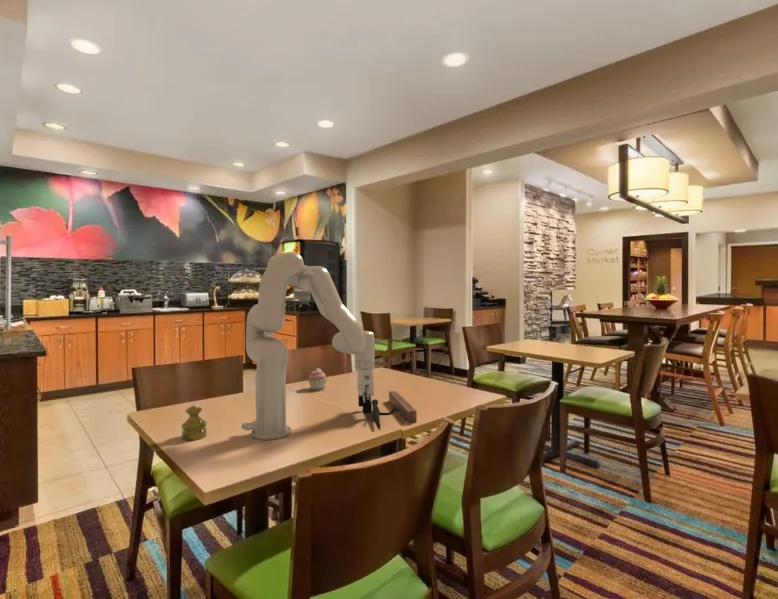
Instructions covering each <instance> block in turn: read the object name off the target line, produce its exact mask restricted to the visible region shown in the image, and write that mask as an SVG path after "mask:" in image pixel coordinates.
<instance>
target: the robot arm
mask: <svg viewBox="0 0 778 599" xmlns="http://www.w3.org/2000/svg"><path fill="white" fill-rule="evenodd" d="M289 285H291V286H294V287H296V288H298V289H303V290H306V291H310V294H311V295H312V298H313V300H314V302H315V304H316V307H317V309H318V311H319V313H320V314H321V315H322V316H323V317H324V318H325V319H326V320H328V321H329V322H330V323H331V324H333V325H334V326H335V327H336V328H337V329H338V331H339V332H337V333H335V334H334V335H333V337H332V339H331V340H332V341H331V344H332V346H333V348H334V349H335V350H336V351H338V352H340V353H344V354H350V355H353V356H354V369H355V370H356V373H357V374H356V375H357V377H356V381H357V392H358V398H357V399H358V407H360V408H361V407H362V414H363V415H365V414H366V415H368V414H373V413H372V412H373V405H372V397H373V396H375V385H374V384H375V383H374V373H373V372H374V371H373V370H374V369H375V368H376V367H375V365H376V364H375V363H376V362H375V356H376V355H375V351H376V350H375V333H374V332H373V331H369V330H362V328H361V326H360V324H359V323H358V320H357V319H356V318H355V316H354V315H353V314H352V313H351V312H350V311H349V309H348V308H347V307H346V306H345V305H344V304H343V302H342V299H341V298H340V297H341V296H340V295H339V293H338V290H337V287H336V286H335V283H334V281H333V279H332V276H331V274H330V272H329V271H328V269H327V268H325V267H324V266H321V265H311V266H309V265H306V264H304V259H303V257H302V256H301V255H300V253H297V252H293V251H291V252H290V251H288V252H283V253H277V254H274V255H272V256H271V257H270V258H269V260H268V262H267V268H266V269H265V271H264V272H263V275H262V276H261V279H260V282H259V287H258V298H257V299H258V301H257V304H254V305H253V306H252V307H251V308H250V309H249V311H248V313H247V317H246V327H245V328H246V331H245V332H246V335H245V350H246V355H247V356H248V358H249V359H250V360H252V362H255V363H256V369H255V370H256V371H255V380H254V382H255V383H254V384H255V385H254V386H255V420H251V421H250V422H241V429H242V430H244V431H251V432H250V436H251V438H254V439H257V440H262V441H263V440H265V441H266V440H268V441H269V440H276V439H281V438H284V437H285V438H286V437H287V436H289V435H290V434H291V433H292V427H291V426H289V425H288V424H287V395H286V394H287V393H286V392H287V391H286V390H287V389H286V387H287V386H286V384H287V383H286V382H287V381H286V373H287V372H286V369H287V364H288V348H287V346H286V344H285V343H284V342H283V340H281V339H280V338H278V337H274V335H275V333H278V332H280V331H281V330H282V329H283V328H284V325H285V321H286V298H287V295H286V294H287V289H288V286H289Z"/></svg>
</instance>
